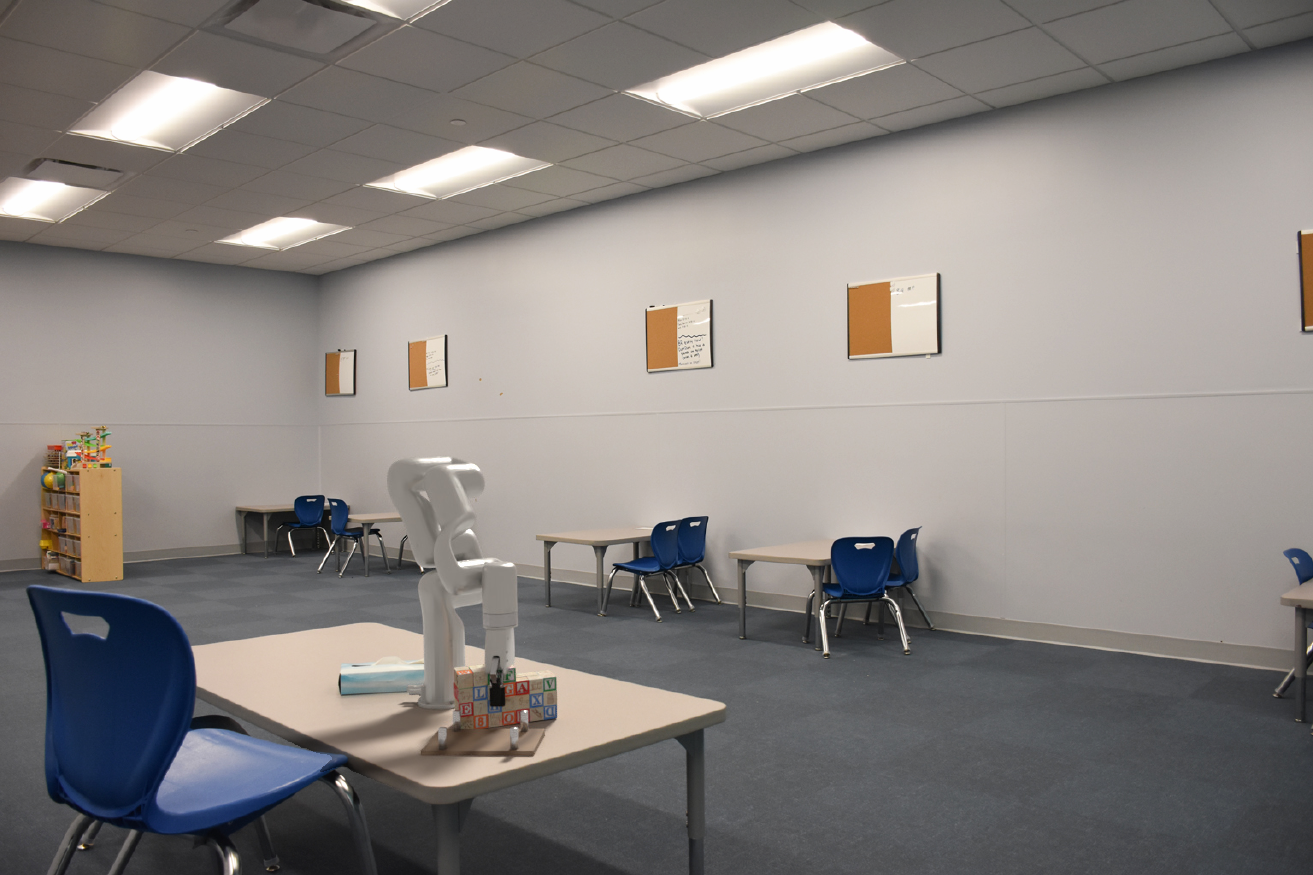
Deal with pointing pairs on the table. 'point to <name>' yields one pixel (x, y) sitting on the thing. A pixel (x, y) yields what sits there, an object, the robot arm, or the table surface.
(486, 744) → the pin board
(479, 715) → the stack of blocks
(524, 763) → the table surface
